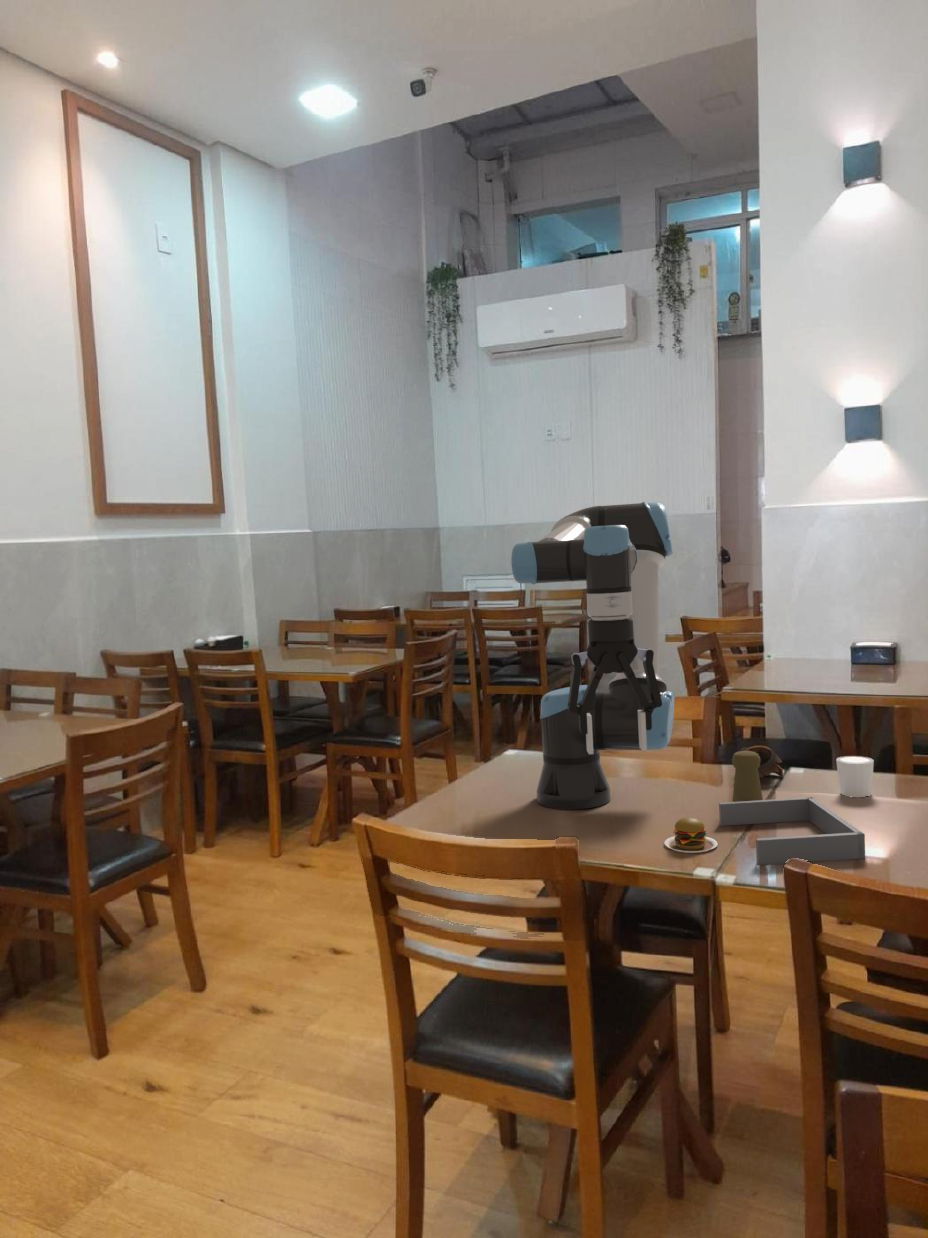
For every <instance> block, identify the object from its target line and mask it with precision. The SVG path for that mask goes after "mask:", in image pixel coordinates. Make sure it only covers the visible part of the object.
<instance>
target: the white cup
mask: <svg viewBox="0 0 928 1238" xmlns="http://www.w3.org/2000/svg"><path fill="white" fill-rule="evenodd" d="M835 761H836V768H837V770H836V771H837V775H838V784H839V791H840V792H839V793H840V795H841V794H842V795H841V796H843V795H846V796H852V797H865V796H869V795H872V789H873V776H874V764H875V763H874V761H875V760H874V759H872V758H871V757H868V756H861V755H846V756H840V757H839V756H838V757H837V758H836V760H835ZM846 796H845V797H846ZM852 797H851V798H852ZM869 797H870V796H869ZM865 798H866V797H865Z"/></svg>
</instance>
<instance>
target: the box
mask: <svg viewBox="0 0 928 1238" xmlns="http://www.w3.org/2000/svg"><path fill="white" fill-rule="evenodd" d="M718 812H719V813H718V815H719V826H721V827H724V826H740V825H741V826H743V825H758V824H759V825H760V824H773V823H776V824H777V823H789V822H790V823H791V822H803V821H804V822H805V821H809V822H810V823H812V824H813V825H814V826H816V827H817V828H819V830H821V831H822V832H823V833H824V834H823V833H822V834H808V835H794V836H793V835H791V836H778V837H777V836H776V837H775V836H773V837H762V838H761V837H760V838H759V837H758V838H755V847H756V848H755V849H756V864H757V865H758V866H765V865H766V866H768V865H781V864H782V865H783V864H786V863H785V862H786V861H787V860H788V859H791V858H799V859H804V860H808V861H811V862H810V863H813V862H814V863H815V862H828V861H829V862H832V861H847V860H864V859H866V844H865V843H866V842H865V839H866V838H865V837H866V836H865V833H864V832H863V831H861V830H860V829H858V828H857V827H855V826H854V825H852V824H851V823H849V822H848V821H846V819H844V818H842V817H841V816H839V815H838V814H837V813H835V812H834V811H833V810H831V809H830V808H828V807H827V806H825V804H824V805H823V804H822V803H821V802H820V801H818V800H817V799H815V798H814V797H812V796H809V797H792V798H790V797H789V798H776V799H774V798H772V799H763V800H757V801H740V802H732V801H726V802H724V801H723V802H718Z"/></svg>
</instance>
